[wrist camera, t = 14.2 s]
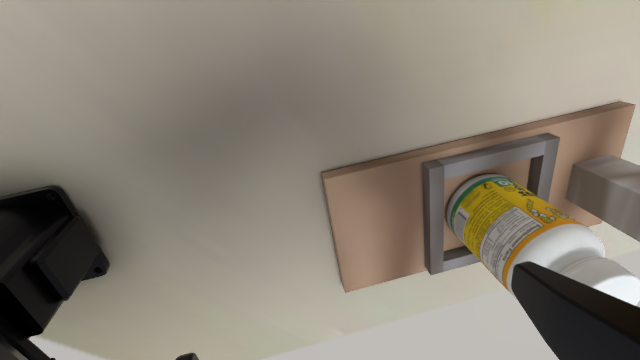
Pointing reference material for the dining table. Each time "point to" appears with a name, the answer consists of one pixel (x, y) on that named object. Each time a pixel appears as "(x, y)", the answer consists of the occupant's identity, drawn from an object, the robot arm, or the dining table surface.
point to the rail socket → (465, 164)
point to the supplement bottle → (532, 236)
